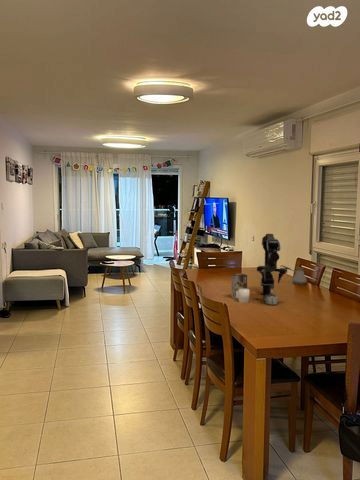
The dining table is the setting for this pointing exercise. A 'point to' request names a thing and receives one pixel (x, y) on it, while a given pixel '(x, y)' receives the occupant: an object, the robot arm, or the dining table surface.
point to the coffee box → (238, 283)
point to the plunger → (272, 291)
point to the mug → (243, 295)
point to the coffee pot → (298, 276)
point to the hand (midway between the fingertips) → (271, 282)
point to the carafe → (271, 300)
